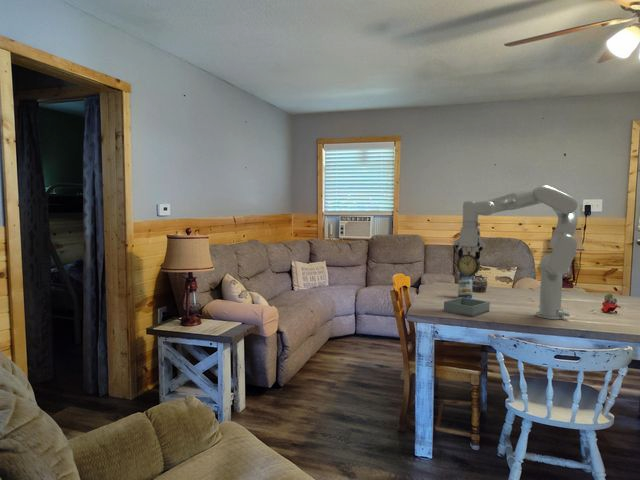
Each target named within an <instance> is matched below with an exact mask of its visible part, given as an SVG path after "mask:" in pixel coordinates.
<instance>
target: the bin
mask: <svg viewBox="0 0 640 480" xmlns="http://www.w3.org/2000/svg"><path fill="white" fill-rule="evenodd" d="M490 305H491V302H490V301H485V300H480V299H475V298H474V299H473V298H472V299H469V298H463V297H460V298H458V297H457V298H453V299H449V300H445V301H443V312H447V313H451V314H455V315H462V316H467V317H470V318H471V317H472V318H473V317H477V316H480V315H483V314H485V313H489V312H490Z"/></svg>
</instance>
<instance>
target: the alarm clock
mask: <svg viewBox="0 0 640 480" xmlns="http://www.w3.org/2000/svg"><path fill="white" fill-rule="evenodd" d="M467 249H468V247H465V251H466V252H467V254H463V255H462V256H461V257H460V258H459V257H458V259H457V261H456V268H457V270H458V272H459V274H460V273H461V274H460V276H461V275H462V274H463V275H465V276H470V277H471V275H473V278H477V276H476V274H477V273H478V272H479V270H480V269H481V268H480V267H481V262H480V259H477V260H476V259H475V254H474V255H473V254H471V253H472V251H473V247H470V249H471V251H468V250H467Z"/></svg>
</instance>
